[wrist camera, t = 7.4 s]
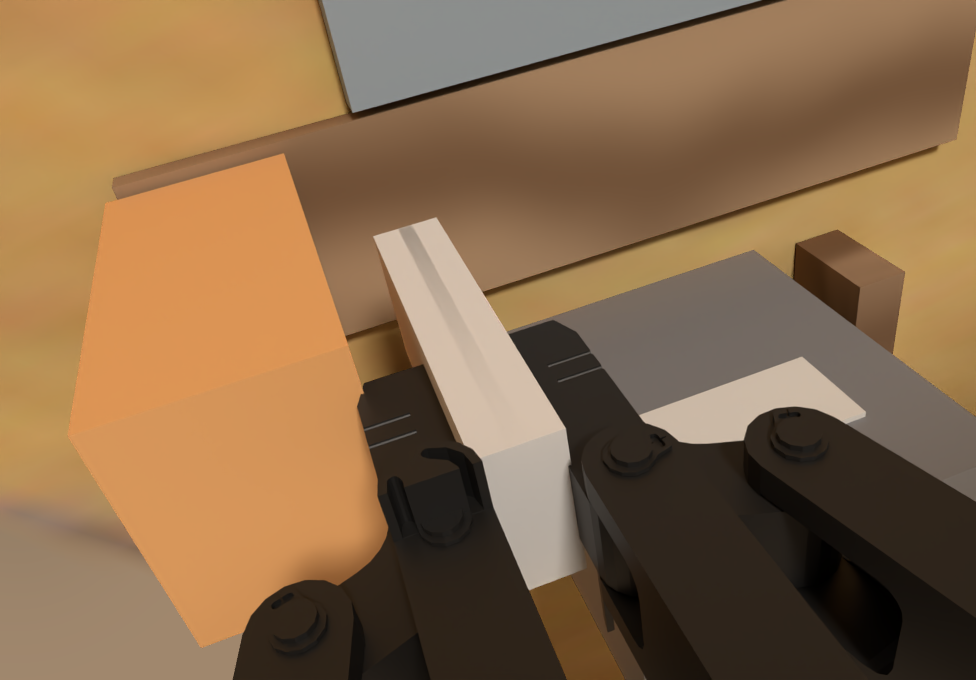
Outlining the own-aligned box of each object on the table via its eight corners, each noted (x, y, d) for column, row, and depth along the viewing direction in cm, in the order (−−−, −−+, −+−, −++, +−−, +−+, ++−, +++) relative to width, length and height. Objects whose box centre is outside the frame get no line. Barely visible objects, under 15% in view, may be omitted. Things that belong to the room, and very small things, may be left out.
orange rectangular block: (105, 203, 18) (67, 436, 11) (283, 153, 19) (348, 345, 12) (191, 378, 21) (200, 647, 14) (342, 330, 22) (421, 565, 15)
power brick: (480, 335, 24) (636, 597, 16) (753, 245, 25) (1020, 444, 17) (505, 450, 27) (648, 723, 19) (750, 362, 28) (980, 581, 20)
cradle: (113, 178, 18) (104, 233, 16) (973, -60, 22) (1070, -44, 20) (277, 526, 25) (288, 602, 23) (914, 300, 29) (981, 344, 27)
